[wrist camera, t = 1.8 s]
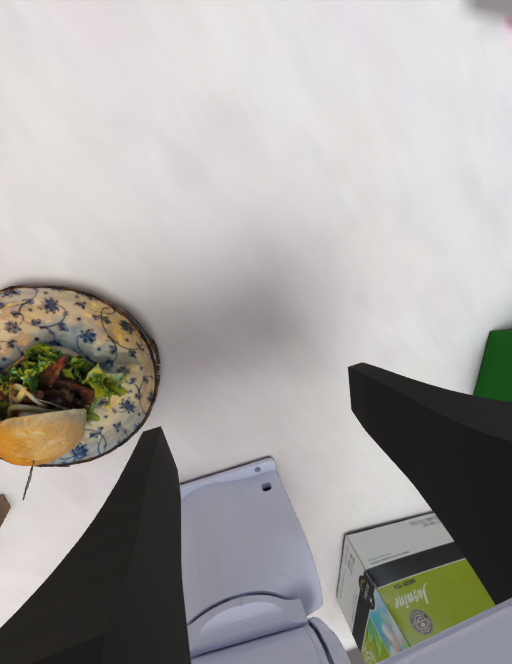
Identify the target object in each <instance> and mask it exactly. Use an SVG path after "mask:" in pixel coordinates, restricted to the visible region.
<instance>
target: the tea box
mask: <svg viewBox="0 0 512 664" xmlns="http://www.w3.org/2000/svg"><path fill="white" fill-rule="evenodd" d="M337 598H338V602H339V605H340V607H341V610H342V612H343V614H344V617H345V619H346V621H347V623H348V626H349V628H350V630H351V632H352V635H353V637H354V639H355V641H356V644H357V646H358V648H359V650H360V652H361V654H362V656H363V659H364V661H365V663H366V664H376V663H378V662H381V661H383V660H385V659H387V658H389V657H391V656H393V655H395V654H397V653H399V652H401V651H403V650H405V649H407V648H409V647H411V646H413V645H415V644H418V643H420V642H422V641H424V640H426V639H428V638H430V637H432V636H434V635H436V634H438V633H440V632H442V631H444V630H446V629H448V628H450V627H453V626H455V625H457V624H459V623H461V622H463V621H465V620H467V619H469V618H471V617H473V616H475V615H477V614H479V613H481V612H483V611H485V610H487V609H490V608H492V607H494V606H496V605H495V604H494V602H493V600H492V599H491V597H490V596H489V594H488V592H487V591H486V589H485V588H484V586H483V585H482V583H481V581H480V580H479V578H478V577H477V575H476V573H475V572H474V570H473V569H472V567H471V566H470V564H469V563H468V561H467V560H466V558H465V557H464V555H463V554H462V552H461V551H460V549H459V548H458V546H457V545H456V543H455V542H454V540H453V539H452V537H451V536H450V534H449V533H448V531H447V530H446V529H445V527H444V526H443V524H442V523H441V522H440V520H439V519H438V517H437V516H436V514H435V513H431V514H427V515H423V516H419V517H416V518H412V519H408V520H404V521H401V522H397V523H393V524H389V525H385V526H382V527H378V528H374V529H370V530H366V531H362V532H358V533H355V534H350V535H346V537H345V543H344V550H343V556H342V563H341V570H340V577H339V584H338V591H337Z"/></svg>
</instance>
